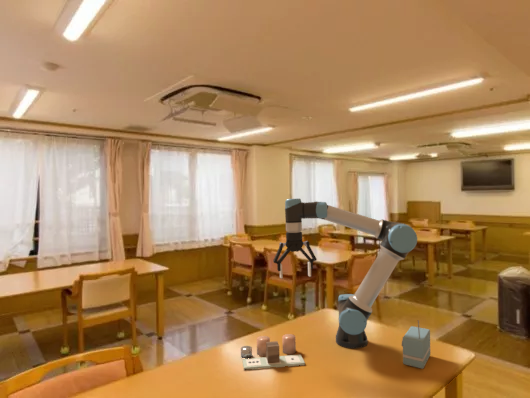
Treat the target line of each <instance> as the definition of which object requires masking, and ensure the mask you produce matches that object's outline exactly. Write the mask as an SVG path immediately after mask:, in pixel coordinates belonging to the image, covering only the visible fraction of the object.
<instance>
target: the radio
mask: <svg viewBox="0 0 530 398" xmlns="http://www.w3.org/2000/svg"><path fill="white" fill-rule="evenodd" d="M401 347H402V363H403V365H406V366H409V367H413V368H417V369H424V368H425V366H426V364H427V362H428V361H429V358H430V355H431V329H428V328H425V327H423V328H422V327H420V320H417V326H413V325H411V326H410V327H409V329H408V330H407V332H406V333H405V334H404V335H403V336H402V339H401Z"/></svg>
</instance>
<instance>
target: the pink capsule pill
mask: <svg viewBox="0 0 530 398" xmlns="http://www.w3.org/2000/svg"><path fill="white" fill-rule="evenodd" d="M266 342H271V337H270V336H267V335H259V336H258V337H256V354H257V356H258V355H259V356H258V357H261V356H265V357H266Z"/></svg>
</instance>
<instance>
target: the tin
mask: <svg viewBox="0 0 530 398" xmlns="http://www.w3.org/2000/svg"><path fill="white" fill-rule="evenodd" d="M241 357H242V358H245V359H248V358H251V357H252V358H253V347H252V346H250V345H243V346H241V347H240V358H241ZM242 358H241V359H242Z"/></svg>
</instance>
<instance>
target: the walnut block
mask: <svg viewBox="0 0 530 398" xmlns="http://www.w3.org/2000/svg"><path fill="white" fill-rule="evenodd" d="M279 356H280V345H279V342H278V340H275V341H270V342H266V356H265V357H266V358H267V361H268V363H278V362H280V357H279Z"/></svg>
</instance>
